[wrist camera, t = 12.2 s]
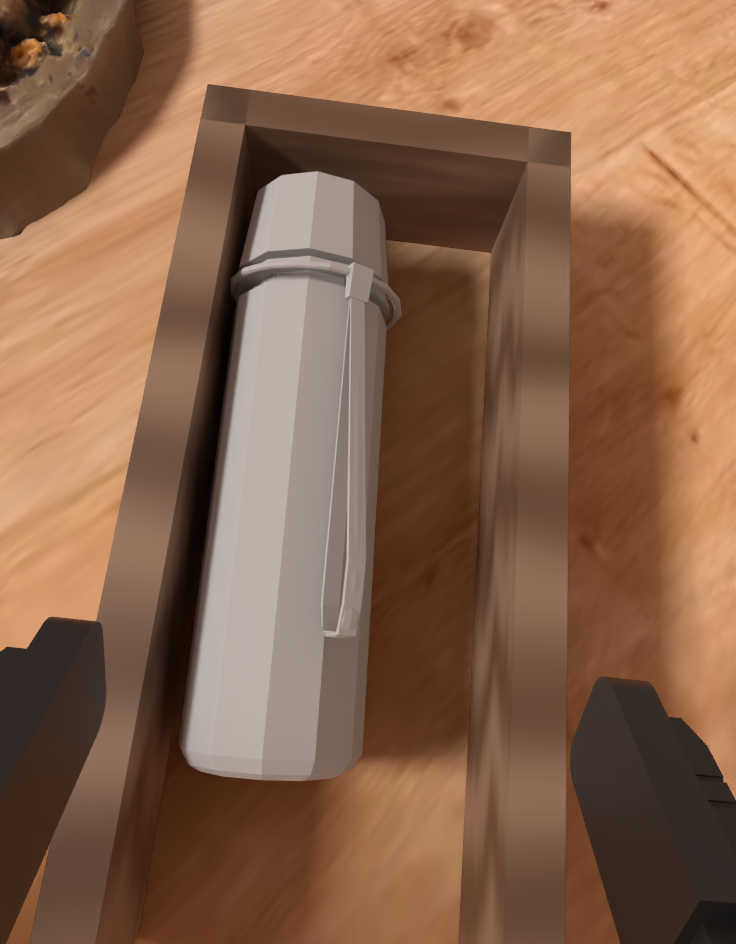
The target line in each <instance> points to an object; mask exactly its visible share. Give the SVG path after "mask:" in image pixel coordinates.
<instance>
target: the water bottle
mask: <svg viewBox="0 0 736 944" xmlns="http://www.w3.org/2000/svg"><path fill="white" fill-rule="evenodd" d="M230 288H231V295H232V297H233V298H234V301H235V302H236V304H237V306H236V310H235V313H234V319H233V327H232V335H231V342H230V350H229V358H228V365H227V373H226V381H225V389H224V396H223V404H222V412H221V419H220V427H219V435H218V443H217V450H216V458H215V466H214V473H213V481H212V489H211V497H210V504H209V512H208V520H207V527H206V535H205V543H204V551H203V558H202V566H201V574H200V582H199V589H198V597H197V605H196V612H195V620H194V628H193V636H192V643H191V651H190V659H189V666H188V674H187V682H186V690H185V697H184V705H183V713H182V720H181V728H180V736H179V746H180V748H181V751H182V753H183V755H184V757H185V759H186V761H187V763H188V765H190V766H192V767H193V768H195V769H196V770H198V771H201V772H205V773H210V774H214V775H219V776H224V777H234V778H245V779H255V780H279V781H309V780H322V779H332V778H335V777H337V776H339V775H341V774H343V773H345V772H347V771H349V770H350V769H352V768H353V767H354V766H355V764H356V763H357V762H358V760H359V759H360V758H361V756H362V754H363V737H364V719H365V701H366V684H367V666H368V649H369V631H370V613H371V596H372V578H373V561H374V543H375V525H376V508H377V490H378V472H379V455H380V437H381V420H382V402H383V384H384V367H385V349H386V331H387V330H388V329H390V328H391V327H392V326H393V325H394V324H395V323H396V322H397V321H398V319H399V318H400V317H401V316H402V312H401V305H400V299H399V297H398V296H397V295H396V294H395V293H394V292H393V290H392V289H391V288H390V287H389V286H388V270H387V250H386V231H385V221H384V218H383V215H382V211H381V208H380V204H379V201H378V200H377V199H376V198H374V197H373V196H372V195H371V194H369V193H368V192H367V191H366V190H364V189H363V188H362V187H361V186H359V185H358V184H357V183H356V182H354V181H351V180H348V179H344V178H340V177H337V176H333V175H329V174H326V173H322V172H318V171H316V172H306V173H297V174H287V175H281V176H280V177H278V178H277V179H275V180H274V181H272V182H270V183H269V184H267V185H266V186H264V187H263V188H261V189H260V190H258V192H257V196H256V200H255V204H254V208H253V212H252V216H251V220H250V224H249V228H248V233H247V237H246V241H245V245H244V249H243V253H242V257H241V261H240V266H239V270H238V273H237V274H236V275H234V276H233V277H232V278H231V286H230ZM389 299H390V301H391V302H392V304H393V308H394V313H393V316H392V317H391V319H390V320H389V321H388V322H387V323H385V321H384V319H385V318H386V316H387V315H388V314H389V305H388V301H389Z"/></svg>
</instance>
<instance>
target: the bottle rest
mask: <svg viewBox="0 0 736 944" xmlns="http://www.w3.org/2000/svg"><path fill="white" fill-rule="evenodd" d="M316 171H318V172H322V173H326V174H329V175H333V176H337V177H340V178H344V179H348V180H351V181H354V182H356V183H357V184H358V185H359V186H361V187H362V188H363V189H364V190H366V191H367V192H368V193H369V194H371V195H372V196H373V197H374V198H376V199H377V200H378V201H379V204H380V208H381V211H382V215H383V218H384V221H385V231H386V239H388V240H396V241H404V242H412V243H420V244H428V245H436V246H444V247H452V248H460V249H468V250H476V251H484V252H491V269H490V290H489V311H488V332H487V353H486V374H485V396H484V417H483V438H482V459H481V480H480V502H479V523H478V544H477V565H476V586H475V607H474V629H473V650H472V671H471V692H470V713H469V735H468V756H467V777H466V798H465V819H464V840H463V862H462V883H461V904H460V925H459V944H565V865H566V732H567V599H568V466H569V332H570V199H571V132H563V131H556V130H548V129H541V128H533V127H526V126H518V125H511V124H503V123H496V122H488V121H481V120H473V119H466V118H458V117H451V116H443V115H436V114H428V113H421V112H413V111H406V110H398V109H391V108H383V107H376V106H368V105H361V104H353V103H345V102H338V101H330V100H323V99H315V98H308V97H300V96H293V95H285V94H278V93H270V92H263V91H255V90H248V89H240V88H233V87H225V86H218V85H210V84H208V86H207V91H206V95H205V100H204V105H203V110H202V115H201V119H200V124H199V129H198V134H197V139H196V144H195V148H194V153H193V158H192V163H191V168H190V172H189V177H188V182H187V187H186V192H185V197H184V201H183V206H182V211H181V216H180V221H179V225H178V230H177V235H176V240H175V245H174V250H173V254H172V259H171V264H170V269H169V274H168V279H167V283H166V288H165V293H164V298H163V303H162V307H161V312H160V317H159V322H158V327H157V332H156V336H155V341H154V346H153V351H152V356H151V360H150V365H149V370H148V375H147V380H146V385H145V389H144V394H143V399H142V404H141V409H140V413H139V418H138V423H137V428H136V433H135V438H134V442H133V447H132V452H131V457H130V462H129V466H128V471H127V476H126V481H125V486H124V491H123V495H122V500H121V505H120V510H119V515H118V519H117V524H116V529H115V534H114V539H113V544H112V548H111V553H110V558H109V563H108V568H107V572H106V577H105V582H104V587H103V592H102V597H101V601H100V606H99V611H98V616H97V622H100V623H101V625H102V629H103V641H104V658H105V674H106V705H105V711H104V715H103V719H102V723H101V726H100V729H99V732H98V734H97V737H96V739H95V741H94V744H93V746H92V748H91V750H90V753H89V755H88V757H87V760H86V762H85V764H84V766H83V769H82V771H81V773H80V775H79V778H78V780H77V782H76V785H75V787H74V789H73V791H72V794H71V796H70V798H69V801H68V803H67V805H66V807H65V810H64V812H63V814H62V816H61V819H60V821H59V823H58V826H57V828H56V830H55V832H54V835H53V837H52V839H51V842H50V847H49V852H48V857H47V862H46V866H45V871H44V876H43V881H42V886H41V891H40V895H39V900H38V905H37V910H36V915H35V919H34V924H33V929H32V934H31V939H30V944H133V943H134V941H135V940H136V939H137V937H138V934H139V928H140V922H141V916H142V910H143V904H144V898H145V892H146V886H147V880H148V874H149V868H150V862H151V856H152V850H153V844H154V838H155V832H156V826H157V820H158V814H159V808H160V802H161V796H162V790H163V784H164V778H165V772H166V766H167V760H168V754H169V748H170V742H171V736H172V731H173V725H174V719H175V713H176V707H177V701H178V695H179V689H180V683H181V677H182V671H183V665H184V659H185V653H186V647H187V641H188V635H189V629H190V623H191V617H192V611H193V605H194V599H195V593H196V587H197V581H198V575H199V569H200V563H201V557H202V551H203V545H204V539H205V533H206V527H207V520H208V512H209V504H210V497H211V489H212V481H213V473H214V466H215V458H216V450H217V443H218V435H219V427H220V419H221V412H222V404H223V396H224V389H225V381H226V373H227V365H228V358H229V350H230V342H231V335H232V327H233V319H234V313H235V310H236V306H237V304H236V302H235V301H234V298H233V297H232V295H231V288H230V286H231V278H232V277H233V276H234V275H236V274H237V273H238V270H239V266H240V261H241V257H242V253H243V249H244V245H245V241H246V237H247V233H248V228H249V224H250V220H251V216H252V212H253V208H254V204H255V200H256V196H257V192H258V190H260V189H261V188H263V187H264V186H266V185H267V184H269V183H270V182H272V181H274V180H275V179H277V178H278V177H280V176H281V175H287V174H297V173H306V172H316Z"/></svg>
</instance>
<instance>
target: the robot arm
mask: <svg viewBox="0 0 736 944" xmlns="http://www.w3.org/2000/svg"><path fill="white" fill-rule="evenodd" d="M105 705H106V674H105V658H104V641H103V629H102V625H101V623H100V622H97V621H87V620H78V619H68V618H59V617H49V618H48V619H47V620H46V621H45V622H44V623H43V625H42V626H41V628H40V629H39V631H38V632H37V634H36V636H35V637H34V639H33V640H32V642H31V643H30V645H29V647H28V648H27V649H23V648H13V647H6V648H5V649H4V650H2V651H1V652H0V944H6V942H7V939H8V937H9V935H10V933H11V930H12V928H13V926H14V924H15V921H16V919H17V917H18V914H19V912H20V910H21V908H22V905H23V903H24V901H25V898H26V896H27V894H28V892H29V889H30V887H31V885H32V883H33V880H34V878H35V876H36V873H37V871H38V869H39V867H40V864H41V862H42V860H43V857H44V855H45V853H46V851H47V848H48V846H49V844H50V842H51V839H52V837H53V835H54V832H55V830H56V828H57V826H58V823H59V821H60V819H61V816H62V814H63V812H64V810H65V807H66V805H67V803H68V801H69V798H70V796H71V794H72V791H73V789H74V787H75V785H76V782H77V780H78V778H79V775H80V773H81V771H82V769H83V766H84V764H85V762H86V760H87V757H88V755H89V753H90V750H91V748H92V746H93V744H94V741H95V739H96V737H97V734H98V732H99V729H100V726H101V723H102V719H103V715H104V711H105ZM570 763H571V774H572V780H573V784H574V787H575V790H576V794H577V797H578V800H579V804H580V807H581V811H582V814H583V817H584V821H585V824H586V828H587V831H588V834H589V838H590V841H591V845H592V848H593V851H594V855H595V858H596V862H597V865H598V868H599V872H600V875H601V879H602V882H603V885H604V889H605V892H606V896H607V899H608V902H609V906H610V909H611V912H612V916H613V919H614V923H615V926H616V929H617V933H618V936H619V940H620V943H621V944H736V800H735V798H734V796H733V794H732V792H731V790H730V789H729V787H728V785H727V783H724V782H723V775H722V773H721V771H720V769H719V767H718V766H717V764H716V762H715V760H714V758H713V756H712V754H711V752H710V750H709V748H708V746H707V745H706V744H705V743H704V742H703V741H702V740H701V739H700V738H699V737H698V736H697V735H696V734H695V732H694V731H693V730H692V729H691V728H690V727H689V726H688V725H687V724H686V723H685V722H684V721H683V720H682V719H681V718H674V717H668V716H667V714H666V712H665V709H664V707H663V705H662V703H661V701H660V699H659V697H658V695H657V693H656V691H655V689H654V687H653V686H652V685H651V684H650V683H649V682H646V681H638V680H628V679H619V678H609V677H601V678H599V679H598V680H597V681H596V683H595V685H594V687H593V690H592V692H591V695H590V698H589V700H588V703H587V705H586V708H585V711H584V713H583V716H582V718H581V721H580V724H579V726H578V729H577V731H576V734H575V736H574V739H573V743H572V747H571V760H570Z"/></svg>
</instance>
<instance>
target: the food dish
mask: <svg viewBox="0 0 736 944" xmlns="http://www.w3.org/2000/svg"><path fill="white" fill-rule="evenodd" d="M142 56H143V46H142V43H141V39H140V36H139V32H138V28H137V24H136V19H135V14H134V0H0V239H4V238H9V237H14V236H17V235H19V234H21V233H22V231H23V230H24V228H25V227H26V226H27V225H29V224H30V223H33V222H35V221H37V220H39V219H41V218H43V217H44V216H46V215H47V214H49V213H50V212H52V211H54V210H56V209H57V208H59V207H61V206H62V205H64V204H65V203H66V202H67V201H69V200H70V199H72V198H73V197H75V196H76V195H78V194H80V193H81V192H83V191H84V190H85V189H86V188H87V186H88V184H89V182H90V178H91V173H92V168H93V162H94V159H95V157H96V155H97V153H98V151H99V150H100V148H101V145H102V142H103V139H104V137H105V135H106V133H107V131H108V129H109V128H110V127H111V126H112V125H113V124H114V123H115V122H116V121H117V119H118V118H119V117H120V114H121V112H122V109H123V107H124V104H125V101H126V99H127V95H128V91H129V89H130V88H131V86H132V85H133V84H134V82H135V80H136V77H137V73H138V70H139V67H140V63H141V59H142Z"/></svg>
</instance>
